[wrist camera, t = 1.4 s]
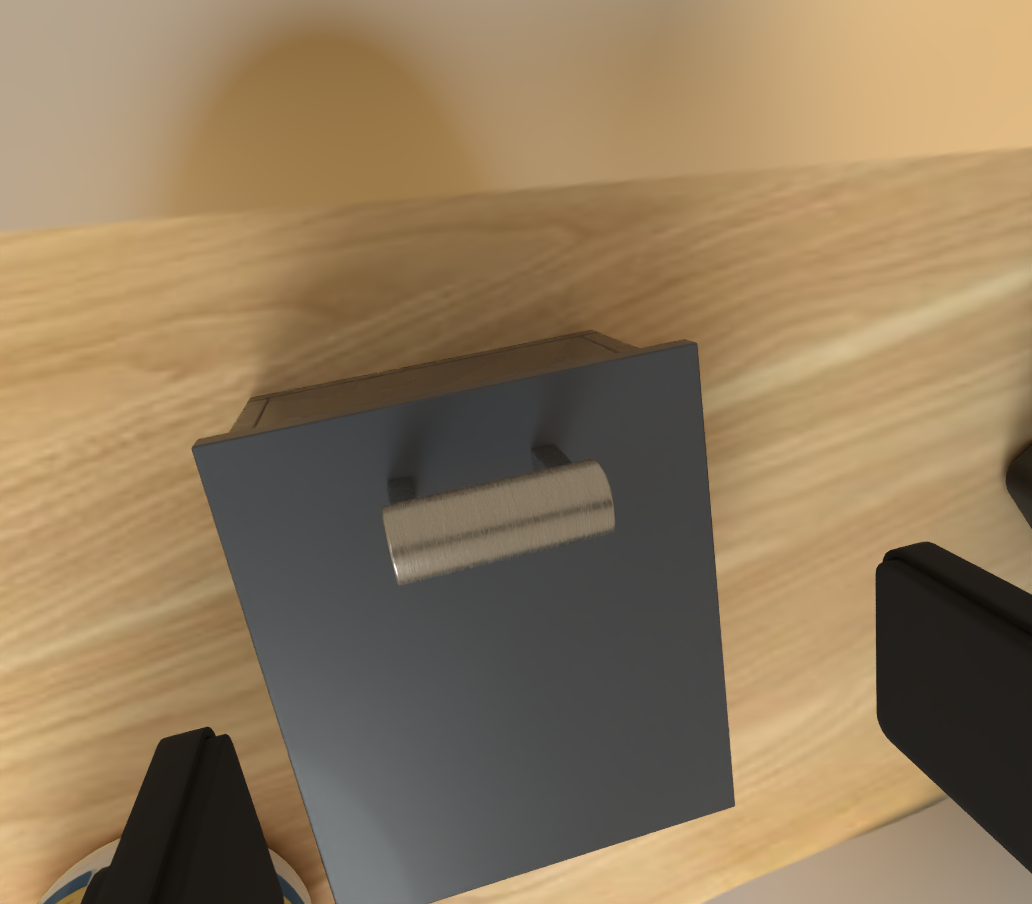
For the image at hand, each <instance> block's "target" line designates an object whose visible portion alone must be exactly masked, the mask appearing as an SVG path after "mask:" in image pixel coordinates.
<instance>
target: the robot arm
mask: <svg viewBox="0 0 1032 904" xmlns="http://www.w3.org/2000/svg"><path fill="white" fill-rule="evenodd" d="M876 693H877V719H878V722H879V725H880V727H881V729H882V731H883V733H884V734H885V736H886V737H887V738H888V739H889V740H890V741H891V742H892V743H893V744H894V745H895V746H896V747H897V748H898V749H899V750H900V751H901V752H902V753H903V754H904V755H906V756H907V757H908V758H909V759H910V760H911V761H912V762H913V763H914V764H915V765H916V766H917V767H918V768H919V769H921V770H922V771H923V772H924V773H925V774H926V775H927V776H928V777H929V778H930V779H931V780H932V781H933V782H934V783H935V784H937V785H938V786H939V787H940V788H941V789H942V790H943V791H944V792H945V793H946V794H947V795H948V796H949V797H950V798H952V799H953V800H954V801H955V802H956V803H957V804H958V805H959V806H960V807H961V808H962V809H963V810H964V811H965V812H967V813H968V814H969V815H970V816H971V817H972V818H973V819H974V820H975V821H976V822H977V823H978V824H980V826H982V827H983V828H984V829H985V830H986V831H987V832H988V833H989V834H990V835H991V836H992V837H993V838H994V839H995V840H997V841H998V842H999V843H1000V844H1001V845H1002V846H1003V847H1004V848H1005V849H1006V850H1007V851H1008V852H1009V853H1010V854H1012V855H1013V856H1014V857H1015V858H1016V859H1017V860H1018V861H1019V862H1020V863H1021V864H1022V865H1023V866H1024V867H1025V868H1026V869H1028V870H1029V871H1030V872H1031V873H1032V594H1030V593H1028V592H1026V591H1024V590H1022V589H1020V588H1018V587H1016V586H1014V585H1012V584H1010V583H1008V582H1007V581H1005V580H1003V579H1001V578H999V577H997V576H995V575H993V574H991V573H989V572H987V571H985V570H984V569H982V568H980V567H978V566H976V565H974V564H972V563H970V562H968V561H966V560H964V559H962V558H961V557H959V556H957V555H955V554H953V553H951V552H949V551H947V550H945V549H943V548H941V547H939V546H937V545H936V544H933V543H930V542H920V543H916V544H912V545H909V546H905V547H901V548H897V549H893V550H890V551H888V552H887V553H886V554H885V556H884V558H883V563H880V564H879V565H878V567H877V569H876ZM80 904H284V897H283V892H282V889H281V885H280V882H279V880H278V877H277V874H276V871H275V868H274V865H273V862H272V859H271V856H270V853H269V850H268V847H267V844H266V841H265V838H264V835H263V832H262V829H261V826H260V823H259V820H258V817H257V814H256V811H255V808H254V805H253V802H252V799H251V796H250V793H249V790H248V787H247V784H246V781H245V778H244V775H243V772H242V769H241V766H240V763H239V760H238V757H237V754H236V751H235V748H234V745H233V743H232V740H231V738H230V737H229V735H227V734H223V735H219V736H216V735H215V733H214V731H213V730H212V729H211V728H210V727H204V728H201V729H197V730H193V731H189V732H185V733H181V734H177V735H173V736H170V737H166V738H163V739H161V740H160V742H159V744H158V746H157V748H156V751H155V753H154V756H153V758H152V761H151V763H150V766H149V768H148V771H147V773H146V776H145V778H144V781H143V783H142V786H141V788H140V791H139V793H138V796H137V798H136V801H135V803H134V806H133V809H132V811H131V814H130V816H129V819H128V821H127V824H126V826H125V829H124V831H123V834H122V836H121V839H120V841H119V844H118V846H117V849H116V851H115V854H114V856H113V859H112V861H111V864H110V866H107V867H104V868H101V869H100V870H99V871H98V872H97V873H95V874H94V876H93V878H92V879H91V881H90V883H89V885H88V886H87V889H86V891H85V894H84V896H83V898H82V901H81V903H80Z"/></svg>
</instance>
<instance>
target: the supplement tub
mask: <svg viewBox="0 0 1032 904" xmlns="http://www.w3.org/2000/svg"><path fill="white" fill-rule="evenodd" d="M120 839H121V838H119V839H117V840H115V841H113V842H110V843H108V844H106V845H104V846H103V847H101V848H99V849H97V850H96V851H94V852H92V853H91V854H89V855H87V856H86V857H85V858H83V859H82V860H80V861H79V862H77V863H76V864H75V865H74V866H72V867H71V868H70V869H69V870H68V871H67V872H65V873H64V874H63V875H62V876H61V877H60V878H59V879H58V880H57V881H56V882H55V883H54V884H53V885H52V886H51V887H50V889H49V890H48V891H47V892H46V893H45V894H44V896H43V897H42V898H41V900H40V901H39V902H38V904H80V903H81V901H82V898H83V896H84V894H85V891H86V889H87V886H88V885H89V883H90V881H91V879H92V878H93V876H94V874H95V873H97V872H98V871H99V870H100V869H101V868H104V867H107V866H110V864H111V861H112V859H113V856H114V854H115V851H116V849H117V846H118V844H119V841H120ZM268 850H269V853H270V856H271V859H272V862H273V865H274V868H275V871H276V874H277V877H278V880H279V882H280V885H281V889H282V892H283V897H284V904H312V903H311V899H310V896H309V894H308V891H307V889H306V887H305V885H304V884H303V882H302V880H301V879H300V877H299V876H298V875H297V873H296V872H295V871H294V870H293V868H292V867H291V866H290V865H289V864H288V863H287V862H286V861H285V860H284V859H283V858H281V857H280V856H279V855H278V854H277V853H275V852H274V851H272V850H271V849H269V848H268Z"/></svg>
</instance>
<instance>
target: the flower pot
mask: <svg viewBox="0 0 1032 904" xmlns="http://www.w3.org/2000/svg"><path fill="white" fill-rule="evenodd" d="M1006 486H1007V490H1008V492H1009V493H1010V495H1011V496H1012V498H1013V499H1014V501H1015V502H1016V504H1017V506H1018V507H1019V509H1020V510H1021V512H1022V513H1023V515H1024V517H1025V518H1026V520H1027V522H1028V523H1029V525H1030V527H1031V528H1032V445H1031V446H1030V447H1029V448H1028V449H1027V450H1026V451H1025V452H1023V453H1022V454H1021V455H1020V456H1019V457H1018V458H1017V459H1016V460H1015V461H1014V462H1013V463H1012V465H1011V466H1010V468H1009V469H1008V471H1007V475H1006Z"/></svg>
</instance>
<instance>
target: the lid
mask: <svg viewBox="0 0 1032 904" xmlns="http://www.w3.org/2000/svg"><path fill="white" fill-rule="evenodd" d="M192 452H193V455H194V459H195V462H196V465H197V468H198V471H199V474H200V478H201V481H202V484H203V487H204V490H205V493H206V496H207V500H208V503H209V506H210V509H211V512H212V515H213V519H214V522H215V525H216V528H217V531H218V534H219V537H220V541H221V544H222V547H223V550H224V553H225V556H226V560H227V563H228V566H229V569H230V572H231V575H232V579H233V582H234V585H235V588H236V591H237V594H238V597H239V601H240V604H241V607H242V610H243V613H244V616H245V620H246V623H247V626H248V629H249V632H250V635H251V638H252V642H253V645H254V648H255V651H256V654H257V657H258V661H259V664H260V667H261V670H262V673H263V676H264V680H265V683H266V686H267V689H268V692H269V695H270V698H271V702H272V705H273V708H274V711H275V714H276V717H277V721H278V724H279V727H280V730H281V733H282V736H283V739H284V743H285V746H286V749H287V752H288V755H289V758H290V762H291V765H292V768H293V771H294V774H295V777H296V780H297V784H298V787H299V790H300V793H301V796H302V799H303V803H304V806H305V809H306V812H307V815H308V818H309V822H310V825H311V828H312V831H313V834H314V837H315V840H316V844H317V847H318V850H319V853H320V856H321V859H322V863H323V866H324V869H325V872H326V875H327V878H328V881H329V885H330V888H331V891H332V894H333V897H334V900H335V904H429V903H432V902H435V901H438V900H441V899H445V898H448V897H451V896H454V895H457V894H460V893H464V892H467V891H470V890H473V889H476V888H479V887H482V886H486V885H489V884H492V883H495V882H498V881H501V880H504V879H508V878H511V877H514V876H517V875H520V874H523V873H527V872H530V871H533V870H536V869H539V868H542V867H545V866H549V865H552V864H555V863H558V862H561V861H564V860H567V859H571V858H574V857H577V856H580V855H583V854H586V853H589V852H593V851H596V850H599V849H602V848H605V847H608V846H612V845H615V844H618V843H621V842H624V841H627V840H630V839H634V838H637V837H640V836H643V835H646V834H649V833H652V832H656V831H659V830H662V829H665V828H668V827H671V826H675V825H678V824H681V823H684V822H687V821H690V820H693V819H697V818H700V817H703V816H706V815H709V814H712V813H715V812H719V811H722V810H725V809H728V808H731V807H734V806H735V800H734V788H733V776H732V763H731V751H730V739H729V727H728V714H727V702H726V690H725V677H724V665H723V653H722V641H721V628H720V616H719V604H718V591H717V579H716V567H715V555H714V542H713V530H712V518H711V505H710V493H709V481H708V469H707V456H706V444H705V432H704V420H703V407H702V395H701V383H700V370H699V358H698V346H697V343H695V342H692V341H689V340H685V339H684V340H679V341H674V342H669V343H664V344H660V345H655V346H650V347H645V348H640V349H635V350H630V351H626V352H621V353H616V354H611V355H606V356H601V357H596V358H591V359H587V360H582V361H577V362H572V363H567V364H562V365H557V366H553V367H548V368H543V369H538V370H533V371H528V372H523V373H518V374H514V375H509V376H504V377H499V378H494V379H489V380H484V381H480V382H475V383H470V384H465V385H460V386H455V387H450V388H445V389H441V390H436V391H431V392H426V393H421V394H416V395H411V396H406V397H402V398H397V399H392V400H387V401H382V402H377V403H372V404H368V405H363V406H358V407H353V408H348V409H343V410H338V411H333V412H329V413H324V414H319V415H314V416H309V417H304V418H299V419H295V420H290V421H285V422H280V423H275V424H270V425H265V426H260V427H256V428H251V429H246V430H241V431H236V432H231V433H226V434H222V435H217V436H212V437H207V438H202V439H198V440H197V441H196V442H195V444H194V445H193V446H192Z"/></svg>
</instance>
